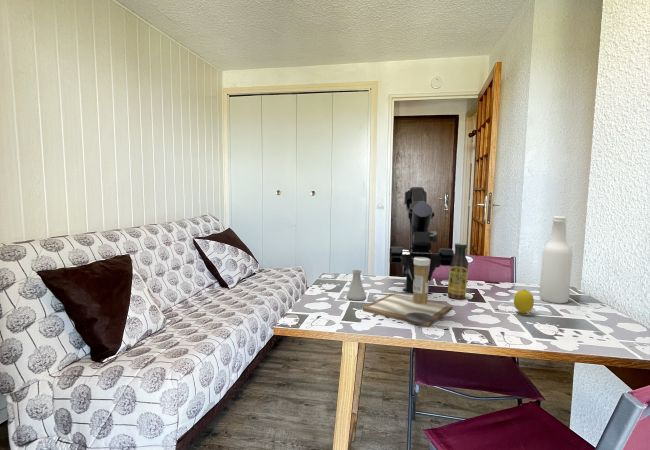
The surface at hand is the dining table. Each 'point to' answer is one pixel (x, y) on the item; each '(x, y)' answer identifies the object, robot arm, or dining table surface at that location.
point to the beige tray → (408, 309)
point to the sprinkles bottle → (421, 280)
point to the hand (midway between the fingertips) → (421, 280)
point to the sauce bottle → (458, 273)
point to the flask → (356, 287)
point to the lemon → (523, 301)
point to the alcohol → (556, 265)
